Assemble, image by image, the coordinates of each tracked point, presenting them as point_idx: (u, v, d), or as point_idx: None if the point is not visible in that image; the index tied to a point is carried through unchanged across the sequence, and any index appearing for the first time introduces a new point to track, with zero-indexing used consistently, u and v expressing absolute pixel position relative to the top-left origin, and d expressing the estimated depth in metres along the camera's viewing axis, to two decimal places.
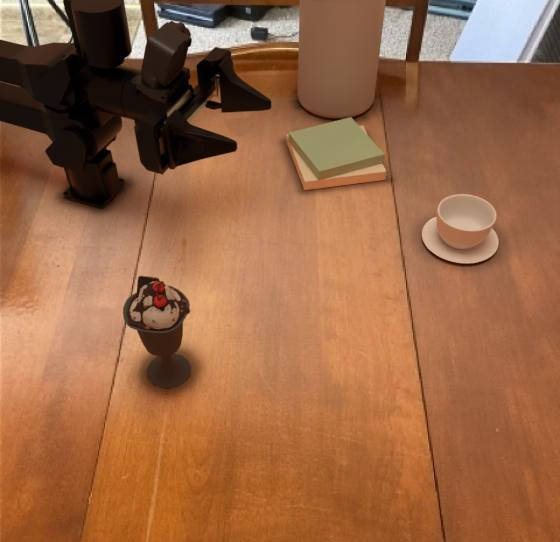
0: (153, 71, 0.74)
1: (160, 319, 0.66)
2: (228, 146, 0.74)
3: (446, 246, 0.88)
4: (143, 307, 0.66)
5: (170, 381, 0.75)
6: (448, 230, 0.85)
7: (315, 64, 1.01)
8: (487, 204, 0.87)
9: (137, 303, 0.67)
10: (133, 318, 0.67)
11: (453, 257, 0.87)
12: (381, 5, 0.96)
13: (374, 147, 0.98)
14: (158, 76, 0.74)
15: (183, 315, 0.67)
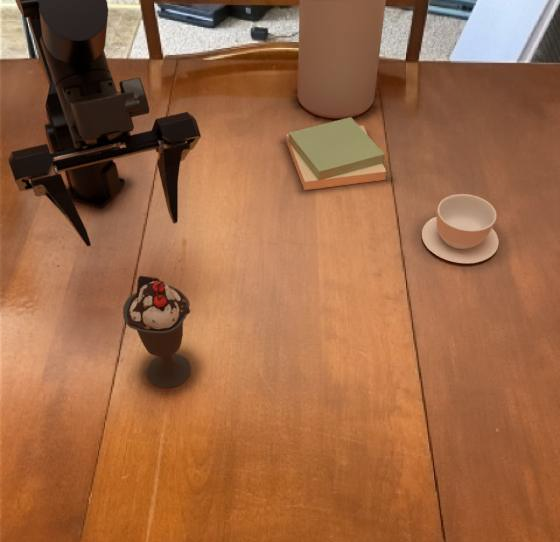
0: (75, 119, 0.63)
1: (160, 319, 0.66)
2: (82, 239, 0.69)
3: (446, 246, 0.88)
4: (143, 307, 0.66)
5: (170, 381, 0.75)
6: (448, 230, 0.85)
7: (315, 64, 1.01)
8: (487, 204, 0.87)
9: (137, 303, 0.67)
10: (133, 318, 0.67)
11: (453, 257, 0.87)
12: (381, 5, 0.96)
13: (374, 147, 0.98)
14: (77, 126, 0.64)
15: (183, 315, 0.67)
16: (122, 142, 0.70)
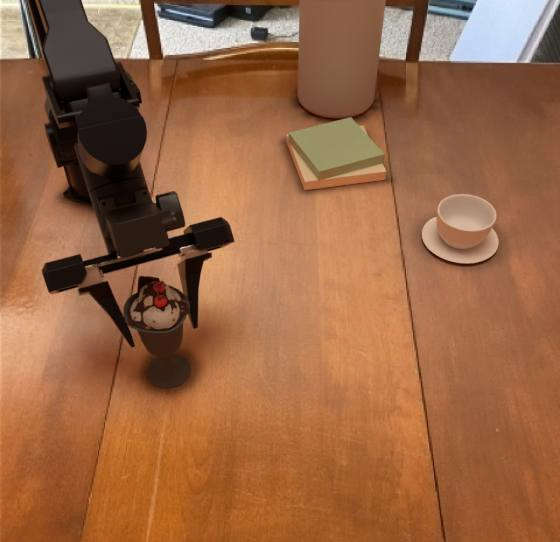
0: (110, 233, 0.63)
1: (160, 319, 0.66)
2: None
3: (446, 246, 0.88)
4: (143, 307, 0.66)
5: (170, 381, 0.75)
6: (448, 230, 0.85)
7: (315, 64, 1.01)
8: (487, 204, 0.87)
9: (137, 303, 0.67)
10: (133, 318, 0.67)
11: (453, 257, 0.87)
12: (381, 5, 0.96)
13: (374, 147, 0.98)
14: (112, 239, 0.63)
15: (183, 315, 0.67)
16: None
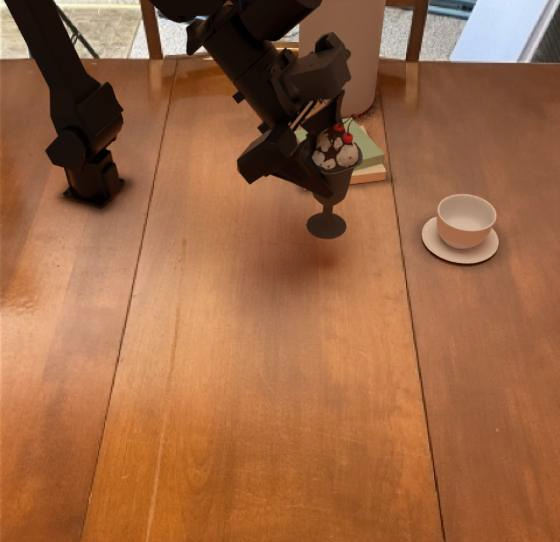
0: (303, 87, 0.68)
1: (354, 153, 0.73)
2: (325, 193, 0.74)
3: (446, 246, 0.88)
4: (335, 151, 0.73)
5: (339, 229, 0.82)
6: (448, 230, 0.85)
7: None
8: (487, 204, 0.87)
9: (324, 153, 0.73)
10: (327, 167, 0.73)
11: (453, 257, 0.87)
12: (381, 5, 0.96)
13: (374, 147, 0.98)
14: (304, 94, 0.68)
15: (356, 148, 0.76)
16: None
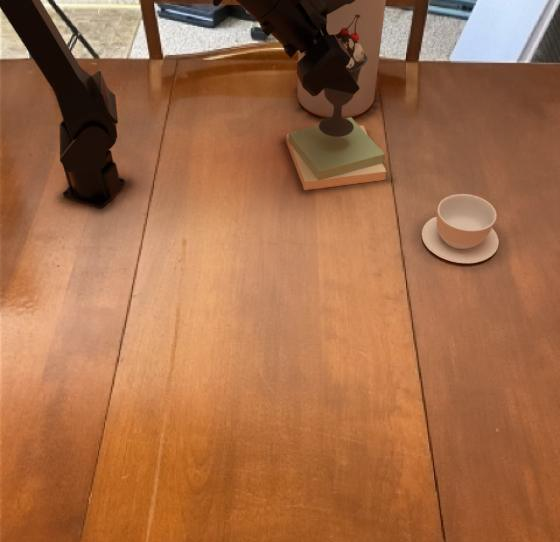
0: None
1: (362, 48, 0.88)
2: (354, 88, 0.88)
3: (446, 246, 0.88)
4: (351, 50, 0.86)
5: (349, 124, 0.96)
6: (448, 230, 0.85)
7: None
8: (487, 204, 0.87)
9: None
10: (350, 66, 0.87)
11: (453, 257, 0.87)
12: (381, 5, 0.96)
13: (374, 147, 0.98)
14: (330, 5, 0.80)
15: None
16: None
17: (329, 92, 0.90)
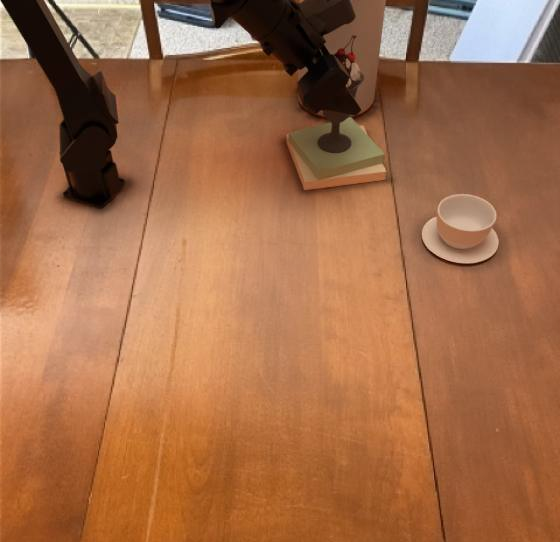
0: (329, 20, 0.82)
1: (358, 67, 0.90)
2: (355, 110, 0.89)
3: (446, 246, 0.88)
4: (348, 70, 0.89)
5: (347, 140, 0.98)
6: (448, 230, 0.85)
7: None
8: (487, 204, 0.87)
9: None
10: (347, 85, 0.89)
11: (453, 257, 0.87)
12: (381, 5, 0.96)
13: (374, 147, 0.98)
14: (329, 26, 0.82)
15: None
16: None
17: None
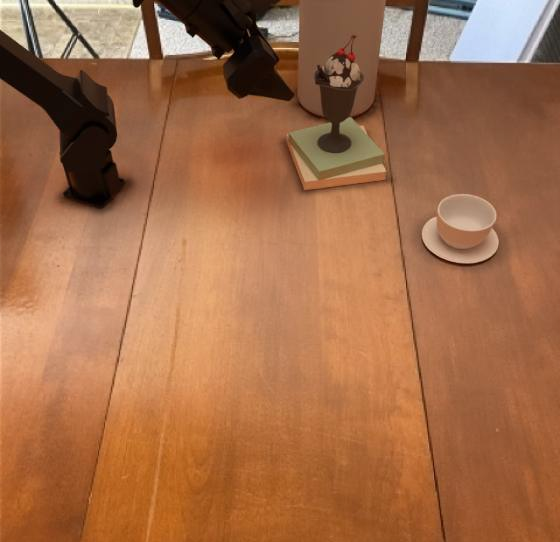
0: (254, 0, 0.78)
1: (358, 67, 0.90)
2: (288, 95, 0.86)
3: (446, 246, 0.88)
4: (348, 70, 0.89)
5: (347, 140, 0.98)
6: (448, 230, 0.85)
7: (315, 64, 1.01)
8: (487, 204, 0.87)
9: (340, 75, 0.88)
10: (347, 85, 0.89)
11: (453, 257, 0.87)
12: (381, 5, 0.96)
13: (374, 147, 0.98)
14: (255, 6, 0.79)
15: None
16: None
17: (327, 110, 0.92)
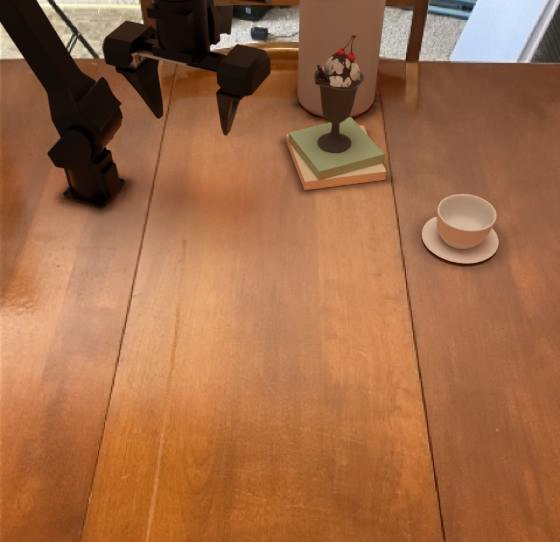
0: (223, 20, 0.77)
1: (358, 67, 0.90)
2: (229, 128, 0.81)
3: (446, 246, 0.88)
4: (348, 70, 0.89)
5: (347, 140, 0.98)
6: (448, 230, 0.85)
7: (315, 64, 1.01)
8: (487, 204, 0.87)
9: (340, 75, 0.88)
10: (347, 85, 0.89)
11: (453, 257, 0.87)
12: (381, 5, 0.96)
13: (374, 147, 0.98)
14: (221, 26, 0.77)
15: None
16: None
17: (327, 110, 0.92)
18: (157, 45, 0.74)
